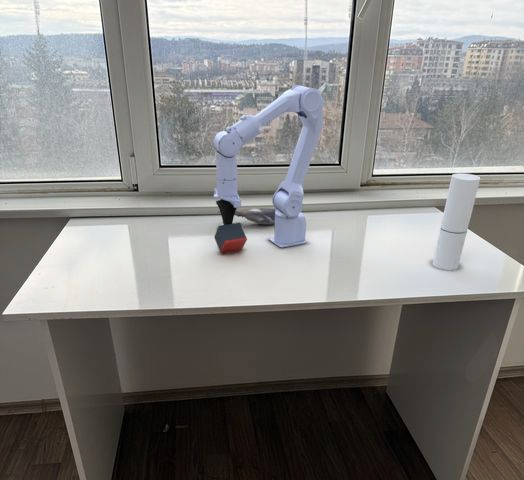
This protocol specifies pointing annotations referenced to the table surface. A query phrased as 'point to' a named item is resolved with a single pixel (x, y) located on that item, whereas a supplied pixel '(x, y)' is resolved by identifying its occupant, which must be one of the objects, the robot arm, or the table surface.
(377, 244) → the table surface
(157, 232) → the table surface
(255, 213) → the decorative bird
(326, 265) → the table surface
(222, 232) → the two-tone lidded box
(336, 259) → the table surface
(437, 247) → the cylindrical container
